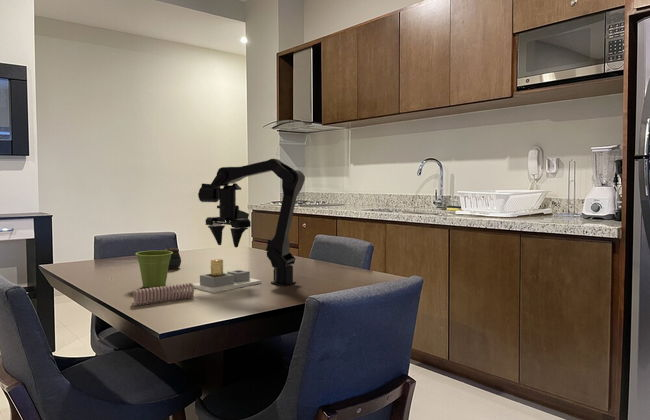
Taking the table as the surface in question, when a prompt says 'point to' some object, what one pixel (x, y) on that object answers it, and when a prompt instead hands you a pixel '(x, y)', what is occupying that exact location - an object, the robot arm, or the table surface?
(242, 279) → the fitting board
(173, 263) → the mate gourd
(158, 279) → the plant pot
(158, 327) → the table surface
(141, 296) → the coil
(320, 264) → the table surface
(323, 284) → the table surface
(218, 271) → the cylinder
